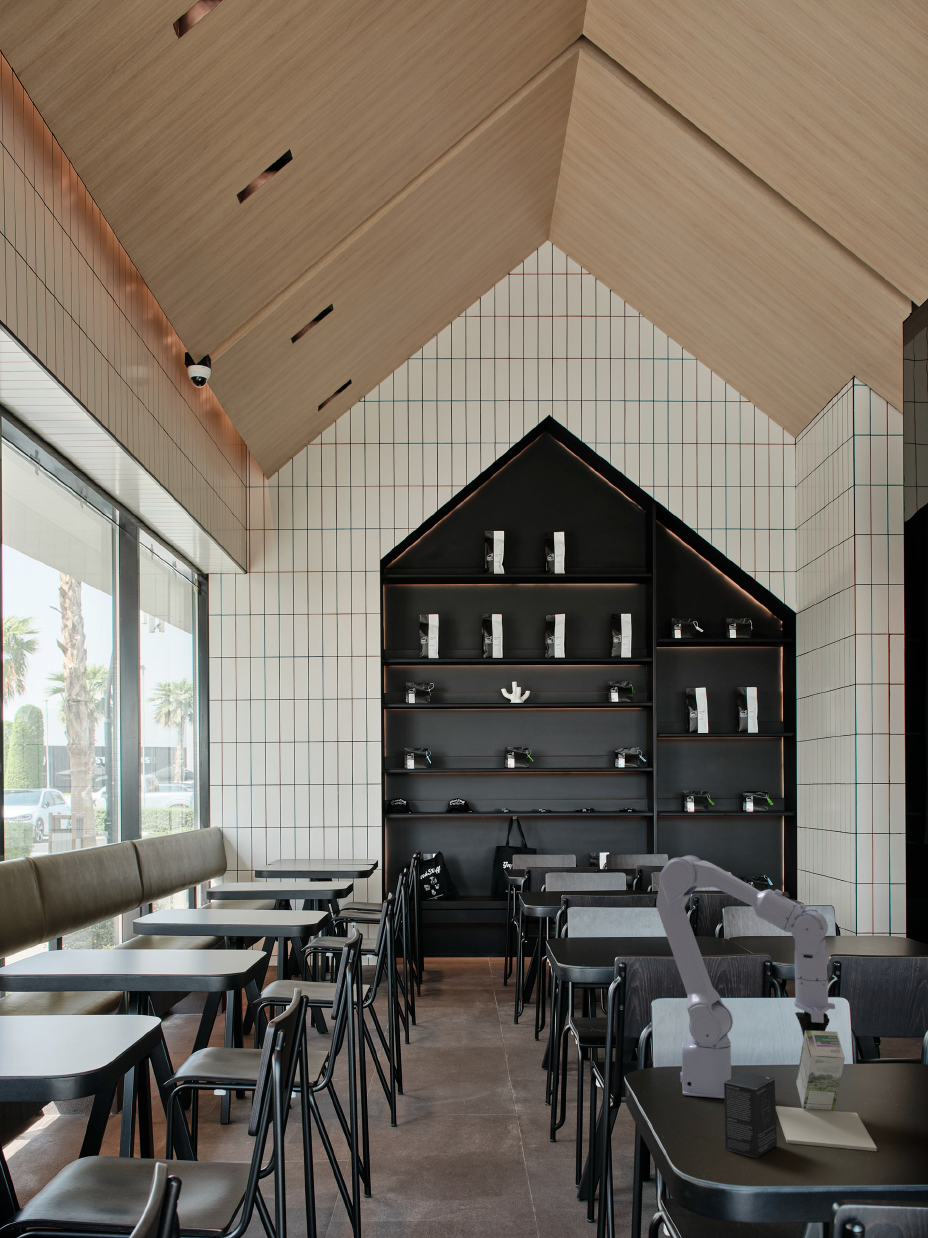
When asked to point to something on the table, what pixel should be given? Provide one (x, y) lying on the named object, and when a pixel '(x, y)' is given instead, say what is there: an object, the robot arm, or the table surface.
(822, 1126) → the mat
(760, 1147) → the box
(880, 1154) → the table surface
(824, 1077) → the syrup box
